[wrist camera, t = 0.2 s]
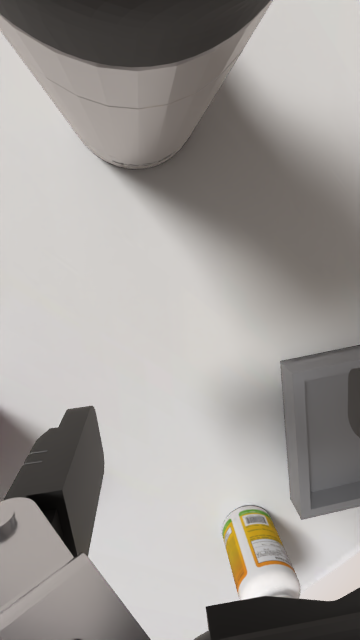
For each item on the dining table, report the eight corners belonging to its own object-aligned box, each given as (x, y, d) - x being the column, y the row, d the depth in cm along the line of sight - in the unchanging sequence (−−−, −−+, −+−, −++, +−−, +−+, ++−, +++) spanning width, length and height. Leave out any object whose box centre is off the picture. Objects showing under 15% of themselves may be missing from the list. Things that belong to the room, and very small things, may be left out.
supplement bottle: (238, 551, 37) (271, 664, 27) (211, 522, 35) (237, 632, 26) (279, 525, 36) (327, 631, 27) (254, 494, 35) (296, 596, 25)
